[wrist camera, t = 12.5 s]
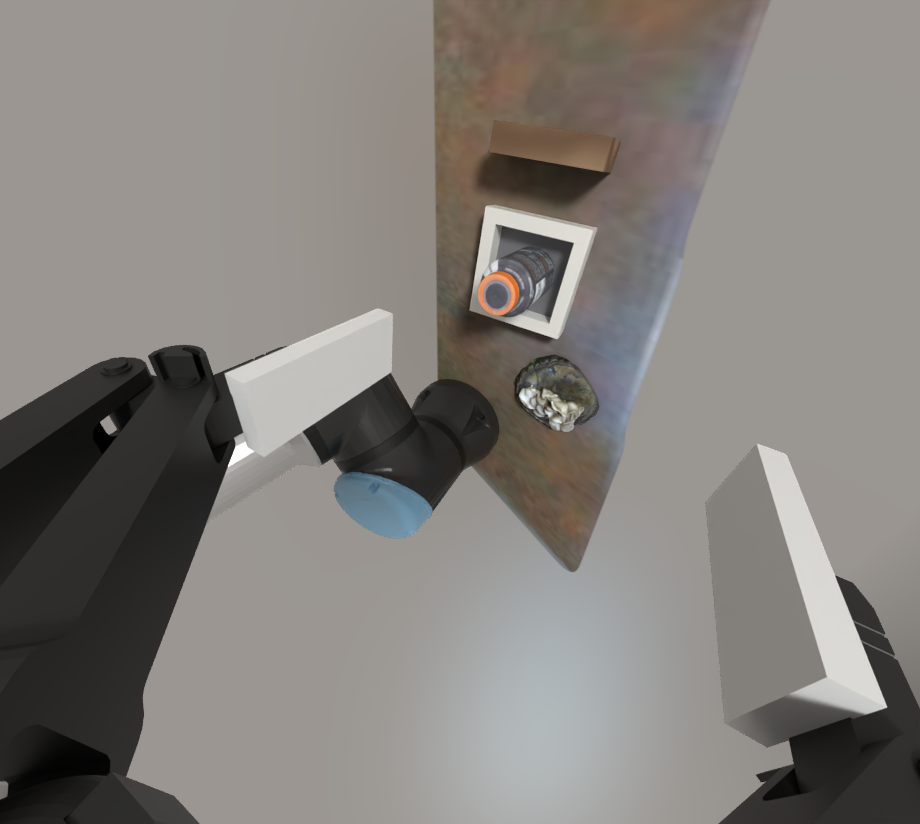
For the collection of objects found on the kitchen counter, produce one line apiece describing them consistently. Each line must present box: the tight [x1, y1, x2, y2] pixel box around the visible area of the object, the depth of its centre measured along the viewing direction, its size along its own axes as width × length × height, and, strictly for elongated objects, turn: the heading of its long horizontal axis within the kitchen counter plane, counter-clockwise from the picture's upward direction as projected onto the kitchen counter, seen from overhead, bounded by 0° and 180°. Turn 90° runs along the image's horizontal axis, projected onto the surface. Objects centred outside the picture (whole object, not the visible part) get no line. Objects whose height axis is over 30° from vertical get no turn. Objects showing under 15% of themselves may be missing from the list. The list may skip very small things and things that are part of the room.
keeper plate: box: [470, 205, 597, 339], centre depth 42 cm, size 12×12×2 cm
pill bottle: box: [478, 246, 555, 317], centre depth 38 cm, size 6×6×11 cm
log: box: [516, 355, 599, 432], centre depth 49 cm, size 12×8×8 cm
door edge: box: [489, 120, 621, 173], centre depth 34 cm, size 2×11×5 cm, turn 82°
